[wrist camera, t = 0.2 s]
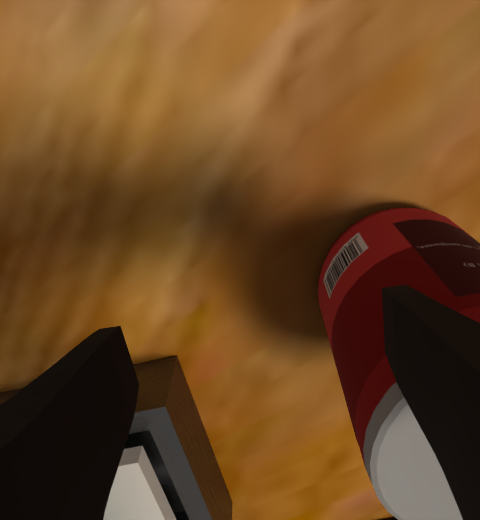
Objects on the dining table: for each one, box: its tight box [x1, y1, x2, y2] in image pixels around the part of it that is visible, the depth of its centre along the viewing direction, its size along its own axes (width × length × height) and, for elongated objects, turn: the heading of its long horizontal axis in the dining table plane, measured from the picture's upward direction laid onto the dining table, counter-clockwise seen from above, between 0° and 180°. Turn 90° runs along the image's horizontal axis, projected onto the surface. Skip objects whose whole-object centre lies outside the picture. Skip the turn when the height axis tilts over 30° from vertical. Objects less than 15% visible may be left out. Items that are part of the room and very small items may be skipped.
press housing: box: [0, 356, 232, 520], centre depth 26 cm, size 12×12×4 cm
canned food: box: [318, 208, 480, 520], centre depth 18 cm, size 8×8×11 cm
